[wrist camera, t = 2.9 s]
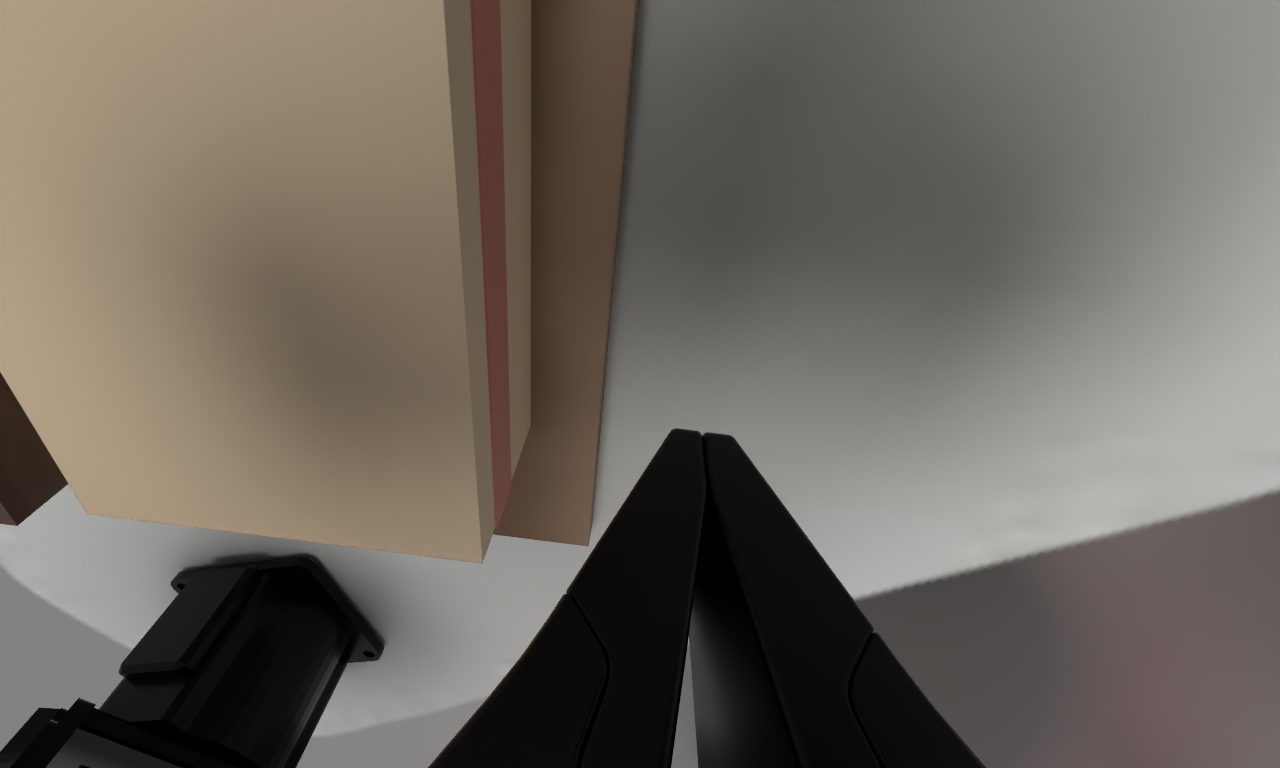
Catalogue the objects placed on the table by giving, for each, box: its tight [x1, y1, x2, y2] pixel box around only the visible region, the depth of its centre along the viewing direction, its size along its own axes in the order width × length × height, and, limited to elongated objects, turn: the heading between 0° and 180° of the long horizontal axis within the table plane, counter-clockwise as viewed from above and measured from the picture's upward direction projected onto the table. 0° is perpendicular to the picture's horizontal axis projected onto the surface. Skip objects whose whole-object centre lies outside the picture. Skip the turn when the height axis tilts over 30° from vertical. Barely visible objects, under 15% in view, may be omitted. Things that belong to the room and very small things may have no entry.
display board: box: [0, 0, 638, 546], centre depth 14 cm, size 19×22×3 cm
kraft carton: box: [0, 0, 531, 563], centre depth 12 cm, size 9×12×5 cm
